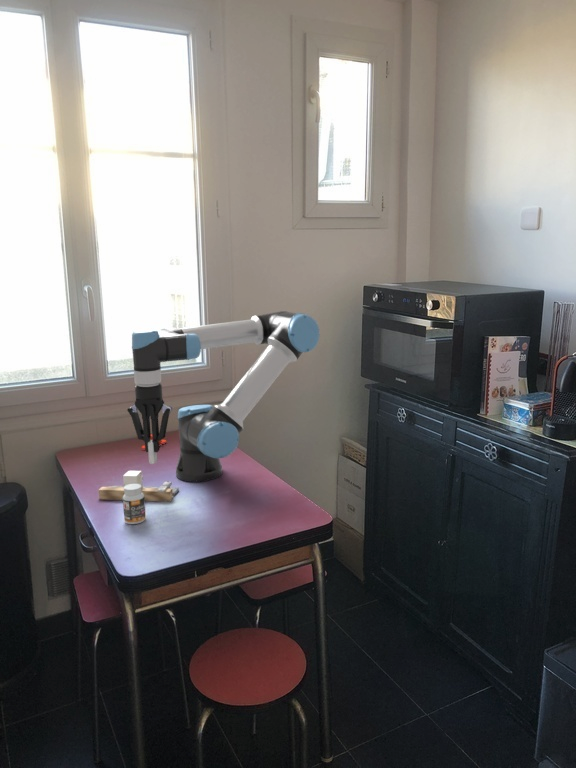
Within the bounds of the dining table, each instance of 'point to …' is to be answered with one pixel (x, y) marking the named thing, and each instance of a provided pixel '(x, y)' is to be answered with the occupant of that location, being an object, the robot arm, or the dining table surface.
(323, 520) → the dining table surface
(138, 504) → the pill bottle
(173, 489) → the hole plate
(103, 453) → the dining table surface
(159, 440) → the bracket
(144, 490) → the beam
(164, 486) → the fixed leg
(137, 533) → the dining table surface
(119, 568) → the dining table surface
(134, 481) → the block
